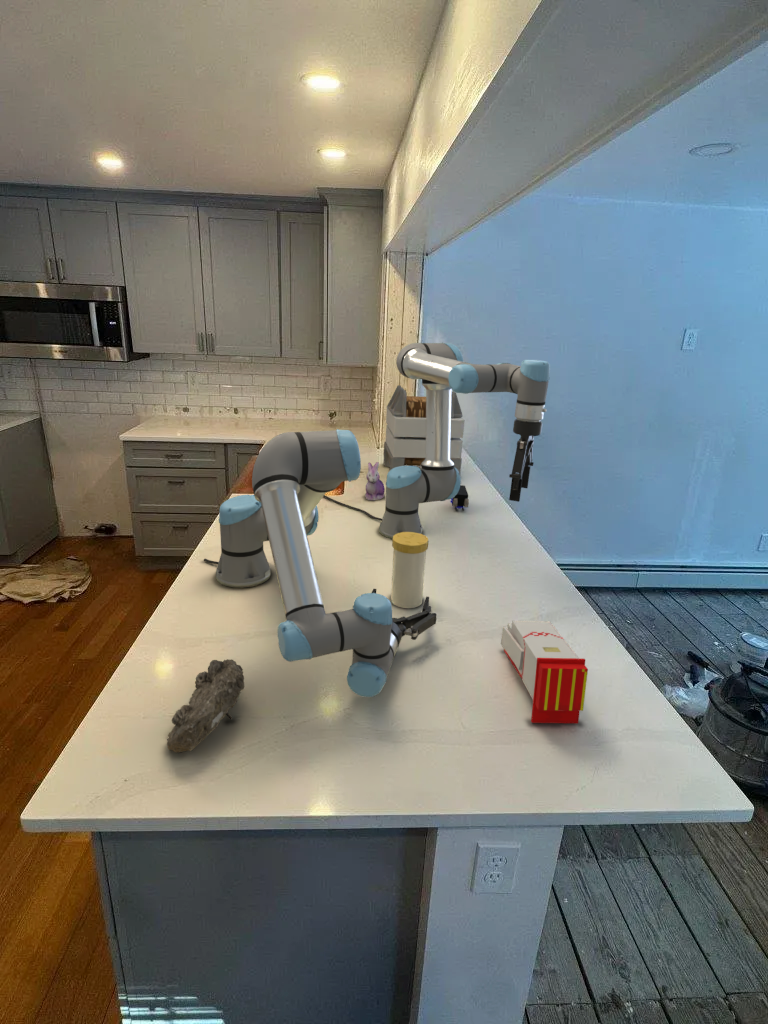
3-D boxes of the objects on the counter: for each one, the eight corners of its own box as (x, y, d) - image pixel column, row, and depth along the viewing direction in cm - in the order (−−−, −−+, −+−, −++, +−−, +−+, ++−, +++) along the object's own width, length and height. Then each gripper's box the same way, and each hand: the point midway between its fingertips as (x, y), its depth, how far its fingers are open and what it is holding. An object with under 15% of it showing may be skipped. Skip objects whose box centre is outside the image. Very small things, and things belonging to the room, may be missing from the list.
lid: (414, 556, 143) (415, 548, 142) (385, 546, 148) (385, 538, 148) (434, 546, 150) (435, 538, 149) (405, 536, 155) (406, 529, 155)
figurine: (369, 502, 230) (370, 466, 225) (359, 494, 239) (360, 460, 234) (390, 499, 234) (391, 464, 229) (378, 492, 243) (380, 458, 238)
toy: (547, 606, 135) (596, 665, 106) (541, 658, 138) (589, 729, 108) (496, 604, 134) (532, 664, 105) (492, 657, 137) (526, 729, 108)
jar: (410, 611, 149) (414, 549, 143) (384, 600, 154) (387, 540, 148) (428, 599, 156) (433, 539, 149) (402, 589, 160) (406, 531, 154)
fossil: (192, 660, 117) (244, 628, 112) (224, 691, 120) (276, 661, 115) (142, 746, 98) (202, 712, 93) (182, 779, 101) (242, 748, 96)
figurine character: (468, 516, 224) (463, 500, 237) (471, 498, 221) (465, 483, 234) (452, 515, 224) (447, 499, 237) (453, 498, 220) (449, 482, 234)
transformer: (382, 463, 289) (386, 382, 275) (445, 464, 293) (451, 384, 279) (390, 482, 257) (394, 392, 243) (460, 483, 261) (468, 394, 247)
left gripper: (327, 647, 128) (353, 603, 147) (436, 666, 123) (448, 617, 142) (327, 618, 125) (353, 577, 145) (439, 636, 120) (451, 591, 140)
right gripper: (535, 429, 141) (524, 509, 149) (548, 414, 163) (538, 484, 170) (505, 425, 144) (496, 504, 151) (522, 411, 166) (513, 480, 173)
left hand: (400, 597), depth 143 cm, fingers open, 13 cm apart
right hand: (518, 493), depth 161 cm, fingers open, 13 cm apart
